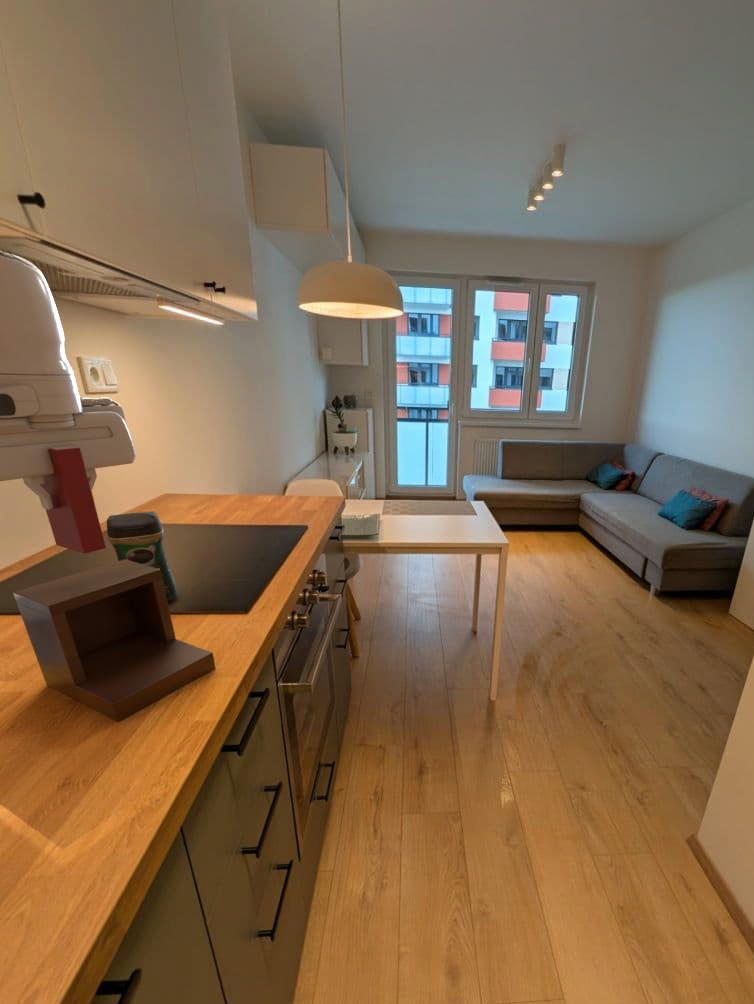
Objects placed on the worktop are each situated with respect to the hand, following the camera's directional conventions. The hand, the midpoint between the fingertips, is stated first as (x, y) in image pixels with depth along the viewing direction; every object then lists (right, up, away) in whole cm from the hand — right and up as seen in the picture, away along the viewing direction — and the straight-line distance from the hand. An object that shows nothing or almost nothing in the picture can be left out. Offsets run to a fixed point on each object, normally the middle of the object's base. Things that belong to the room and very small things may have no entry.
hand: (69, 505), depth 71 cm
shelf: (+3, -25, +10) cm, 27 cm away
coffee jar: (-9, -13, +35) cm, 39 cm away
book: (0, -6, +3) cm, 6 cm away
